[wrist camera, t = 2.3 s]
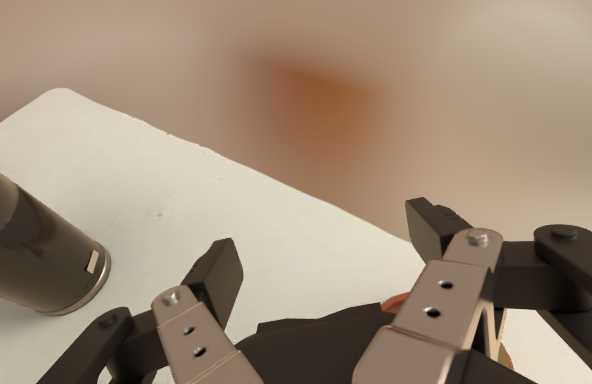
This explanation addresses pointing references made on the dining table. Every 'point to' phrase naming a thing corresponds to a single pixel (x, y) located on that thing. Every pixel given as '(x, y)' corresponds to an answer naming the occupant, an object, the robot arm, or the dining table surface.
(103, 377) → the dining table surface
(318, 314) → the dining table surface
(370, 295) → the dining table surface
